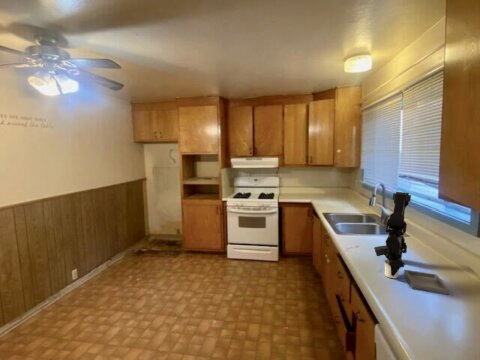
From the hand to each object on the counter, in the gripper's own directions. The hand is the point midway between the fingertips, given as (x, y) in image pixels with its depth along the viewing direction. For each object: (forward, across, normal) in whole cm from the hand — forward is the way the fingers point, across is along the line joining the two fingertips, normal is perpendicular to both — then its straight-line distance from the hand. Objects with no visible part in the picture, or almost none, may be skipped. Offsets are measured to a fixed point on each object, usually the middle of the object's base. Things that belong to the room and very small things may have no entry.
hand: (391, 272), depth 138 cm
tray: (+2, +2, +14) cm, 14 cm away
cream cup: (+2, 0, 0) cm, 2 cm away
